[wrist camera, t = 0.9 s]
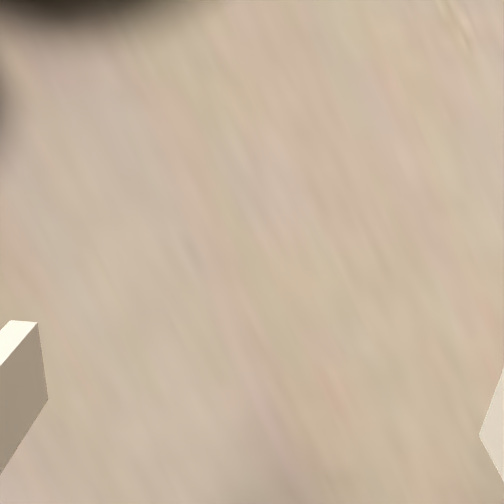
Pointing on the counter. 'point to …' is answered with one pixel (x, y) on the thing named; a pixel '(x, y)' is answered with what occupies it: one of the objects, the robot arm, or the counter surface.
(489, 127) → the counter surface
